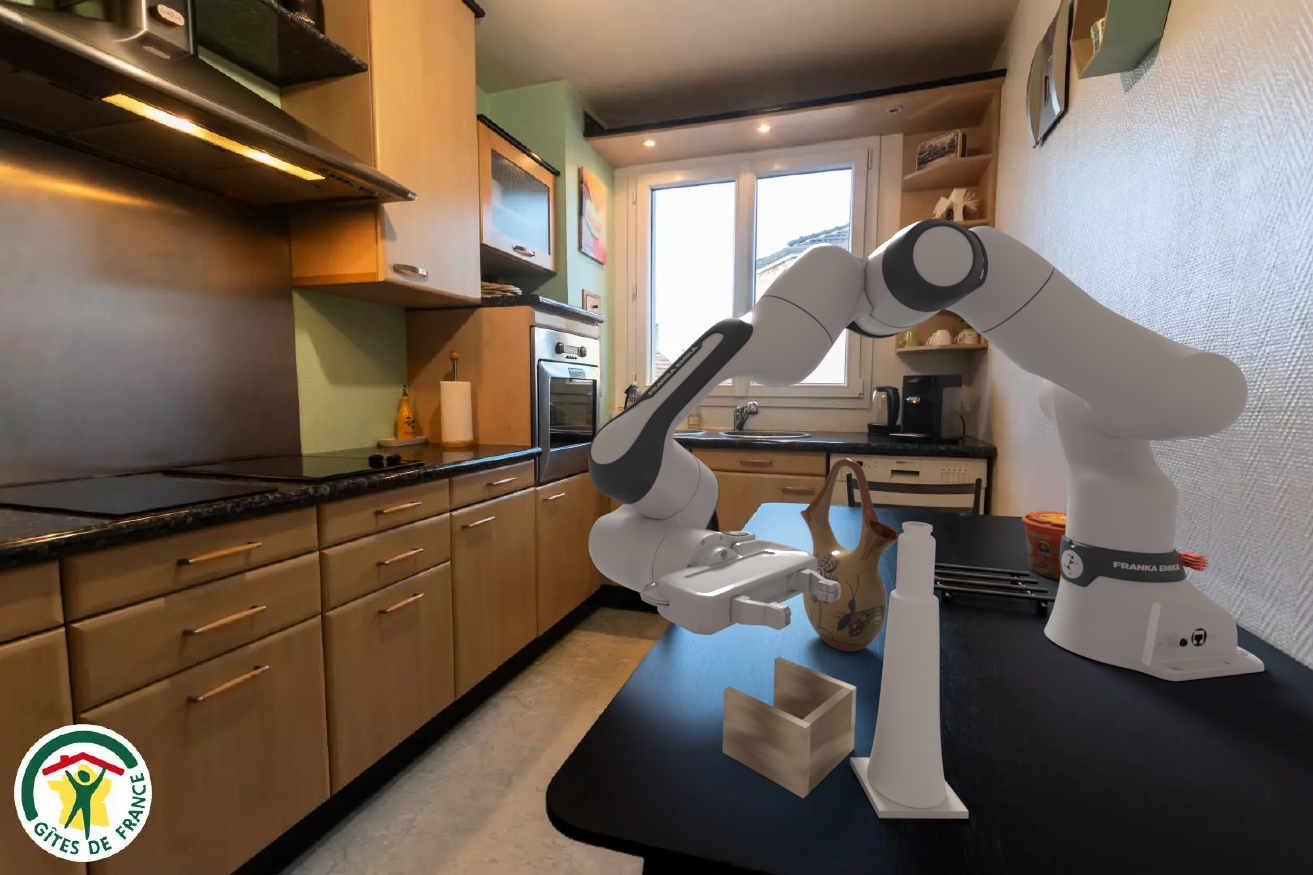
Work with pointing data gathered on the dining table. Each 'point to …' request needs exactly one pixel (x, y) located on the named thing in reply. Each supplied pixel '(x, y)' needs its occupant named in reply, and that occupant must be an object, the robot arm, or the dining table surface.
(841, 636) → the ceramic vessel
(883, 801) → the stone coaster
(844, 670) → the dining table surface
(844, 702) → the beech cradle
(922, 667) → the cosmetic bottle
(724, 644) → the dining table surface
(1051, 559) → the food container
